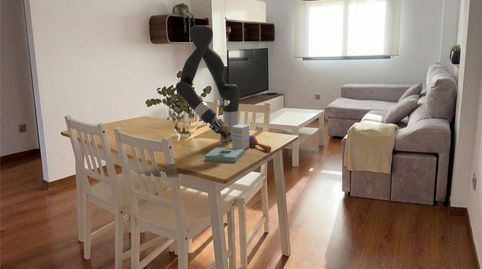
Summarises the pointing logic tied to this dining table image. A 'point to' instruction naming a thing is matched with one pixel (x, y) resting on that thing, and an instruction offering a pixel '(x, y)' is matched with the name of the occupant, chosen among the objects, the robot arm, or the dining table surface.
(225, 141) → the peg
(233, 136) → the supplement box
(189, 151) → the dining table surface
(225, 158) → the board
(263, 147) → the kendama
